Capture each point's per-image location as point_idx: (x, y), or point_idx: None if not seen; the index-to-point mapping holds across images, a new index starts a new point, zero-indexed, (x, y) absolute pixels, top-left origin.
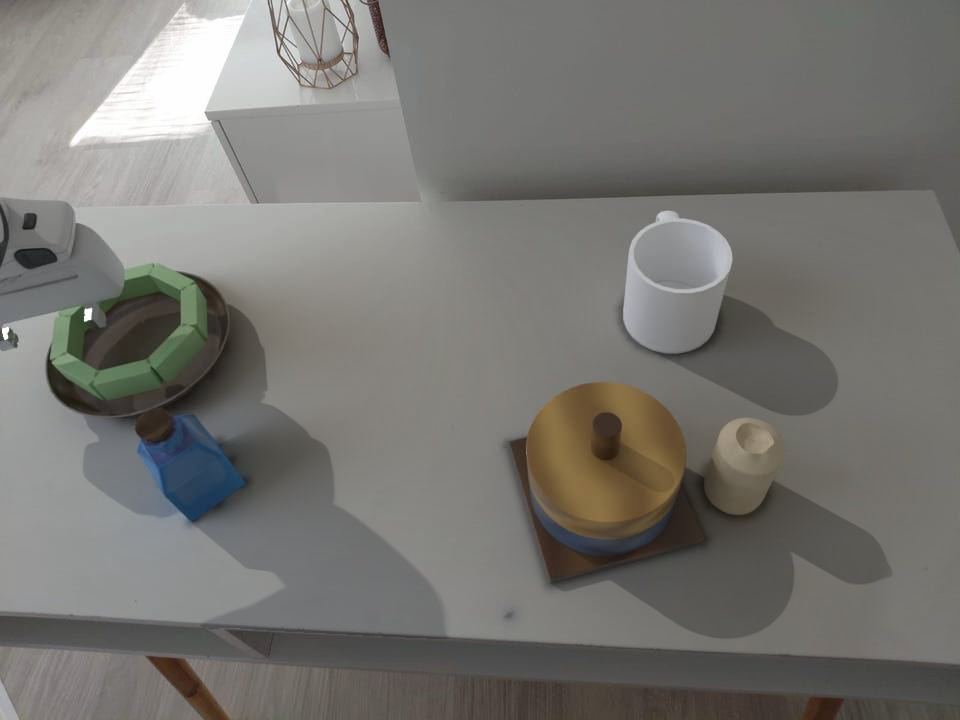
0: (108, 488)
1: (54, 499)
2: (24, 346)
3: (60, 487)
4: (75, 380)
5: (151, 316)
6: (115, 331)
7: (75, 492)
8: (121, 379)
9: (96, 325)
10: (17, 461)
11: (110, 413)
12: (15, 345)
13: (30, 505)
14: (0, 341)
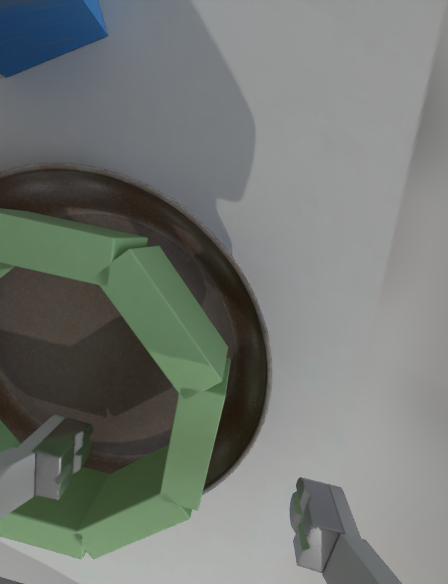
0: (217, 74)
1: (325, 101)
2: (311, 472)
3: (308, 126)
4: (189, 310)
5: (94, 416)
6: (155, 419)
7: (281, 97)
8: (39, 221)
9: (59, 427)
10: (374, 236)
11: (178, 241)
12: (300, 486)
13: (374, 110)
14: (336, 530)
